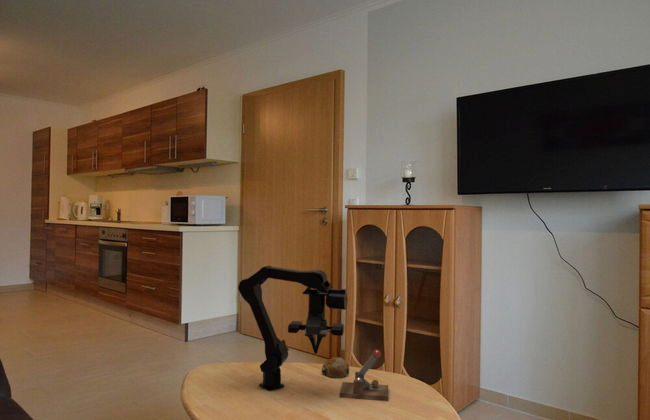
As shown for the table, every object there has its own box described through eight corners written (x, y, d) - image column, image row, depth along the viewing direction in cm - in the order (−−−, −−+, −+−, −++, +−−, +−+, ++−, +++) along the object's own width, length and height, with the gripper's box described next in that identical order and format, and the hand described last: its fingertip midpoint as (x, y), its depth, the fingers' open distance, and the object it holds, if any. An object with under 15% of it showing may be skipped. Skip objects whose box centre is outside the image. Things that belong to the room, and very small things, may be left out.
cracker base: (339, 397, 151) (339, 380, 151) (342, 386, 161) (342, 370, 161) (388, 401, 149) (388, 384, 149) (388, 389, 159) (388, 373, 159)
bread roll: (341, 389, 168) (351, 370, 167) (317, 375, 170) (326, 356, 169) (345, 379, 178) (354, 361, 177) (322, 366, 179) (331, 348, 179)
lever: (351, 381, 153) (375, 350, 152) (352, 375, 159) (376, 345, 158) (365, 393, 152) (390, 362, 151) (366, 386, 158) (390, 356, 157)
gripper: (284, 311, 149) (283, 359, 149) (341, 314, 147) (340, 362, 146) (291, 304, 160) (290, 349, 160) (344, 307, 158) (343, 352, 157)
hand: (315, 353), depth 156 cm, fingers closed
